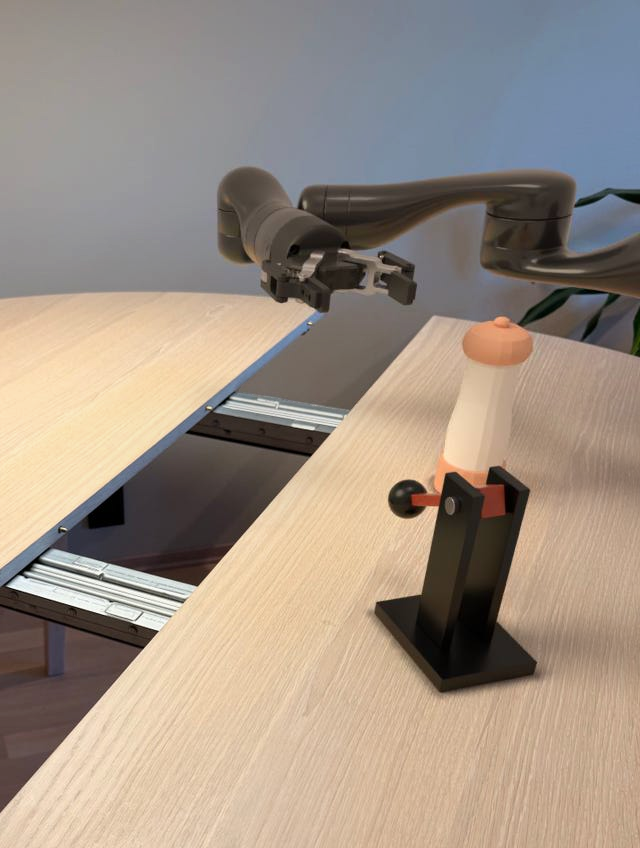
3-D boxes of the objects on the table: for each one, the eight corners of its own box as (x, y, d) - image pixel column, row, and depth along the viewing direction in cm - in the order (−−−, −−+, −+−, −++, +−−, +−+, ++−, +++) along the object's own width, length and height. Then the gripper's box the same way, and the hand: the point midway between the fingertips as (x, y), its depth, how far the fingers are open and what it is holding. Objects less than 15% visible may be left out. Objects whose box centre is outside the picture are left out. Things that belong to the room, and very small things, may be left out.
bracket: (373, 613, 90) (400, 455, 81) (460, 598, 92) (496, 443, 83) (439, 692, 81) (477, 524, 72) (534, 674, 83) (583, 508, 74)
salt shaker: (512, 489, 110) (554, 318, 99) (476, 510, 106) (516, 334, 95) (457, 467, 115) (490, 301, 103) (420, 486, 111) (451, 316, 99)
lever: (382, 520, 91) (379, 481, 91) (417, 515, 92) (414, 477, 92) (474, 527, 77) (471, 481, 76) (514, 521, 78) (511, 475, 77)
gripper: (358, 284, 107) (431, 332, 94) (234, 294, 103) (293, 345, 91) (367, 210, 102) (445, 250, 90) (238, 218, 99) (300, 261, 86)
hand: (368, 298), depth 90 cm, fingers open, 8 cm apart
